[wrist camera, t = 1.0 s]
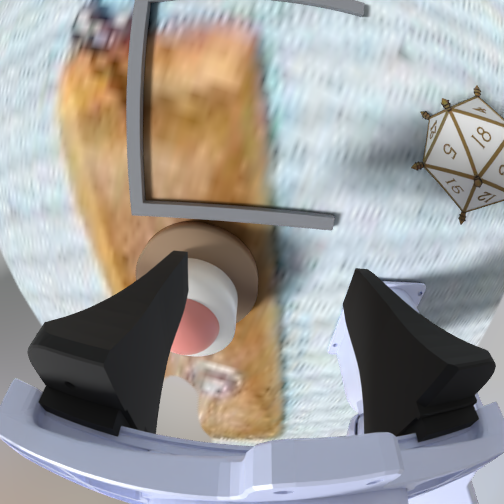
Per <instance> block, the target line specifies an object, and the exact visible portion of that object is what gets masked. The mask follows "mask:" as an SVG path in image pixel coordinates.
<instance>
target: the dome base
mask: <svg viewBox="0 0 504 504" xmlns="http://www.w3.org/2000/svg"><path fill="white" fill-rule="evenodd" d="M174 250H175V251H185V252H188V258H194V259H199V260H203V261H205V262H208V263H210V264H212V265H214V266H216V267H218V268H219V269H221V270H222V271H223V272H224V273H225V274H226V275H227V276H228V277H229V278H230V279H231V281H232V282H233V284H234V286H235V288H236V291H237V296H238V304H237V315H236V323H237V322H239V321H240V320H242V319H243V318H244V317H245V316H246V315H247V314H248V313H249V312H250V311H251V309H252V307H253V306H254V304H255V301H256V298H257V294H258V271H257V266H256V262H255V260H254V258H253V256H252V254H251V252H250V251H249V249H248V248H247V247H246V245H245V244H244V243H243V242H242V241H241V240H240V239H238V238H237V237H236V236H235V235H233V234H232V233H230V232H229V231H227V230H225V229H223V228H221V227H218V226H215V225H212V224H208V223H204V222H181V223H177V224H173V225H170V226H168V227H165V228H164V229H162V230H160V231H159V232H158V233H156V234H155V235H154V236H153V237H152V238H151V239H150V240H149V242H148V244H147V245H146V247H145V248H144V250H143V251H142V253H141V255H140V257H139V259H138V262H137V266H136V281H137V280H138V279H139V278H141V277H142V276H143V275H145V274H146V273H147V272H148V271H150V270H151V269H152V268H153V267H154V266H156V265H157V264H158V263H159V262H160V261H162V260H163V259H164V258H165V257H166V256H167V255H169V254H170V253H171V252H172V251H174Z"/></svg>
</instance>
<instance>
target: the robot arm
mask: <svg viewBox="0 0 504 504" xmlns="http://www.w3.org/2000/svg"><path fill="white" fill-rule="evenodd" d="M425 290H426V286H425V284H424V283H409V282H390V281H381V280H380V279H379V278H378V277H377V276H376V275H375V274H373V273H372V272H371V271H369V270H368V269H358V268H356V269H355V272H354V274H353V277H352V280H351V283H350V286H349V289H348V291H347V294H346V297H345V300H344V302H343V310H342V313H341V315H340V318H339V321H338V323H337V326H336V329H335V331H334V334H333V337H332V339H331V342H330V344H329V347H328V353H329V354H337V357H338V362H339V366H340V371H341V375H342V380H343V385H344V390H345V394H346V398H347V401H348V402H349V404H350V405H351V407H352V408H353V409H354V410H355V411H356V412H358V414H357V415H355V416H354V417H353V418H352V419H351V420H350V423H349V427H348V431H347V436H339V437H325V438H297V439H282V440H272V441H268V442H264V443H260V444H257V445H255V446H239V445H227V444H217V443H208V442H200V441H193V440H186V439H180V438H174V437H168V436H163V435H158V434H156V427H157V418H158V411H159V404H160V397H161V391H162V386H163V380H164V375H165V370H166V365H167V361H168V357H169V353H170V350H171V347H172V344H173V341H174V338H175V336H176V333H177V330H178V327H179V324H180V321H181V319H182V316H183V313H184V310H185V305H186V301H187V296H188V291H189V286H188V252H185V251H175V250H174V251H172V252H171V253H170V254H169V255H167V256H166V257H165V258H164V259H163V260H162V261H160V262H159V263H158V264H157V265H156V266H154V267H153V268H152V269H151V270H150V271H148V272H147V273H146V274H145V275H143V276H142V277H141V278H139V279H138V280H137V281H135V282H134V283H133V284H131V285H130V286H128V287H127V288H125V289H124V290H122V291H120V292H119V293H117V294H115V295H114V296H112V297H110V298H108V299H106V300H104V301H102V302H100V303H98V304H96V305H94V306H92V307H90V308H87V309H85V310H83V311H80V312H77V313H75V314H72V315H69V316H66V317H62V318H59V319H55V320H52V321H48V322H45V323H44V324H43V326H42V327H41V329H40V330H39V332H38V333H37V335H36V337H35V338H34V340H33V341H32V343H31V344H30V346H29V348H28V356H29V359H30V362H31V364H32V365H33V367H34V369H35V370H36V372H37V373H38V374H39V376H40V378H41V379H42V381H43V382H44V383H45V385H46V387H45V389H44V391H43V392H42V391H41V390H39V389H38V388H36V387H34V386H32V385H30V384H28V383H26V382H23V381H21V380H19V379H17V378H14V380H13V381H12V383H11V385H10V387H9V389H8V391H7V393H6V395H5V397H4V399H3V401H2V403H1V405H0V439H1V440H3V441H4V442H5V443H6V444H8V445H9V446H10V447H11V448H13V449H14V450H15V451H17V452H18V453H19V454H21V455H22V456H23V457H25V458H27V459H28V460H30V461H32V462H34V463H36V464H38V465H39V466H41V467H43V468H45V469H47V470H49V471H51V472H53V473H55V474H57V475H59V476H61V477H63V478H65V479H68V480H70V481H72V482H74V483H76V484H79V485H81V486H83V487H86V488H88V489H91V490H93V491H96V492H98V493H101V494H104V495H107V496H110V497H112V498H115V499H118V500H121V501H124V502H127V503H131V504H478V500H477V497H476V494H475V490H474V487H473V484H472V481H471V479H472V477H473V476H474V475H475V473H476V472H477V470H479V469H480V468H482V467H483V466H485V465H486V464H488V463H490V462H491V461H493V460H494V459H495V458H497V457H498V456H500V455H501V454H503V453H504V418H503V416H502V413H501V411H500V408H499V406H498V404H497V402H493V403H491V404H488V405H485V406H483V404H482V402H481V400H480V397H479V395H478V393H477V392H478V391H479V390H480V389H481V388H482V387H483V386H484V385H485V384H486V383H487V381H488V380H489V379H490V377H491V376H492V375H493V373H494V370H495V367H496V365H495V362H494V360H493V359H492V357H491V355H490V353H489V352H488V351H487V350H485V349H482V348H480V347H477V346H475V345H472V344H470V343H467V342H465V341H463V340H461V339H459V338H457V337H455V336H453V335H452V334H450V333H448V332H446V331H445V330H443V329H441V328H440V327H438V326H436V325H435V324H433V323H432V322H430V321H429V320H428V319H426V318H425V317H424V316H422V315H421V314H420V313H419V311H418V309H417V307H418V305H419V303H420V301H421V298H422V296H423V294H424V292H425ZM419 292H420V293H419Z"/></svg>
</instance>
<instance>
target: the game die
mask: <svg viewBox="0 0 504 504" xmlns="http://www.w3.org/2000/svg"><path fill="white" fill-rule="evenodd" d="M480 92H481V90H480V89H479V87H478V86H476V87H475V89H474V94H475V96H474V97H472V98H470V99H467V100H465V101H463V102H460V103H458V104H456V105H453V106H450V103H449V100H446V99H443V98H442V103H441V104H442V105H443V107H444V108H445V110H443V111H441V112H439V113H437V114H435V115H433V116H430V115H429V114H428V113H427V112H426V111H425V112H421V114H422V116H423V118H425V119H428V120H429V123H428V131H427V138H426V145H425V151H424V157H423V162H419V161H418V162H417V163H416V162H415V164H414V165H413V166H412V167H411V168H413V169H416V170H418V169H421V168H423V167H424V168H425V169H426V170H427V171H428V172H429V173H430V174H431V176H432V177H433V178H434V179H435V180H436V181H437V182H438V183H439V185H440V186H441V187H442V188H443V189H444V190H445V191H446V193H447V194H448V195H449V196H450V197H451V199H452V200H453V201H454V202H455V203H456V205H457V206H458V207H459V208H460V210H461V214H459V215H460V216H459V221H460V224H462V223H463V222H464V221H466V220H465V217H466V212H469V211H472V210H476V209H479V208H482V207H485V206H488V205H492V204H495V203H498V202H501V201H504V119H503V118H502V117H501V116H500V115H499V114H498V113H497V112H496V111H495V110H493V109H492V108H491V107H490V106H489V105H488V104H487V103H485V102H484V101H483V100H482V99H481V98H480V97H479V96H480V95H481V94H480Z"/></svg>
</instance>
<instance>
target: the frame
mask: <svg viewBox="0 0 504 504" xmlns="http://www.w3.org/2000/svg"><path fill="white" fill-rule="evenodd" d="M164 1H173V0H135V3H134V10H133V17H132V26H131V35H130V46H129V59H128V76H127V157H128V176H129V190H130V202H131V212H132V215H138V216H156V217H173V218H189V219H204V220H218V221H231V222H244V223H256V224H268V225H279V226H291V227H301V228H312V229H322V230H332V229H333V225H334V220H335V218H334V216H333V215H330V214H321V213H311V212H302V211H292V210H281V209H270V208H259V207H247V206H234V205H220V204H205V203H189V202H170V201H148V200H145V185H144V162H143V91H144V70H145V55H146V43H147V32H148V23H149V15H150V7H151V3H156V2H164ZM273 1H282V2H291V3H298V4H304V5H310V6H316V7H321V8H326V9H331V10H336V11H340V12H344V13H349V14H352V15H356V16H360V17H361V16H363V15H364V3H362V2H359V1H355V0H273Z"/></svg>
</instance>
